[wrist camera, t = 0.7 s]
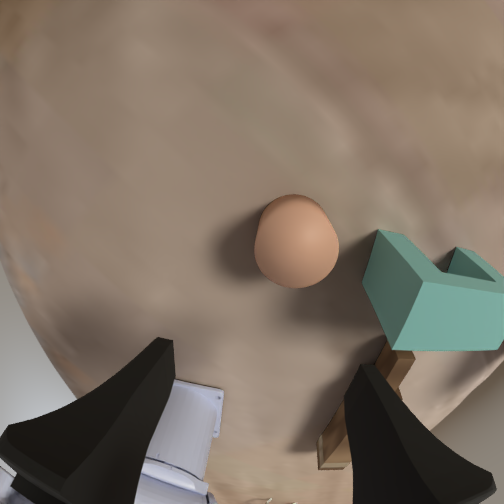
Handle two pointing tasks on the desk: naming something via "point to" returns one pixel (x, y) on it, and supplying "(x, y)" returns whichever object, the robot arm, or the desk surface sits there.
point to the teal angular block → (434, 298)
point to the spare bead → (295, 242)
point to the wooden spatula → (335, 435)
